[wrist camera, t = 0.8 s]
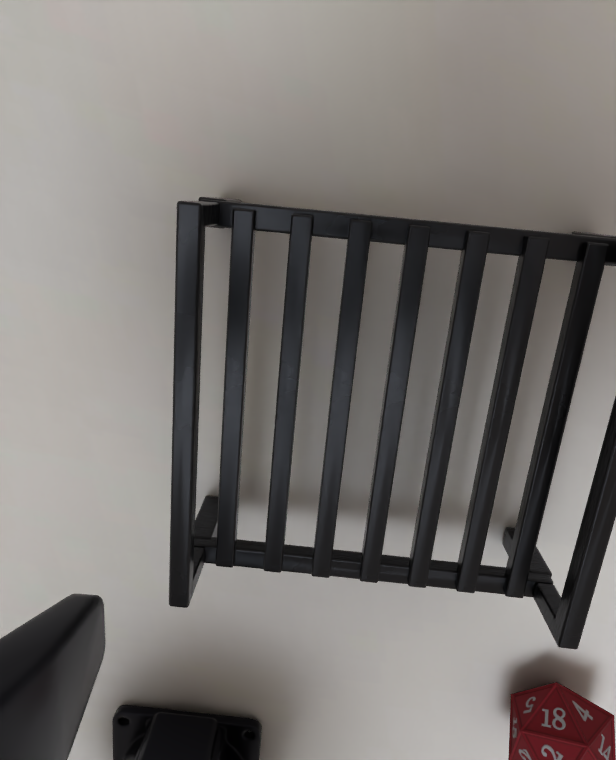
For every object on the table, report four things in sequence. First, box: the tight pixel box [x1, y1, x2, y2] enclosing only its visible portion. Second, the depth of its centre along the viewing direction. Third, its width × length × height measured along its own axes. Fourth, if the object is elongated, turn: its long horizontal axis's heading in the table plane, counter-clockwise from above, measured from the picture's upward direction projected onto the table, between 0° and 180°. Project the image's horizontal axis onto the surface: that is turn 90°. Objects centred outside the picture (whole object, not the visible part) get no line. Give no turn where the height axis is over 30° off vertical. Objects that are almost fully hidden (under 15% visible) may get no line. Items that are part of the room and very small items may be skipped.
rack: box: [169, 197, 616, 649], centre depth 18 cm, size 12×12×6 cm
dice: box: [509, 682, 616, 760], centre depth 22 cm, size 4×4×4 cm
